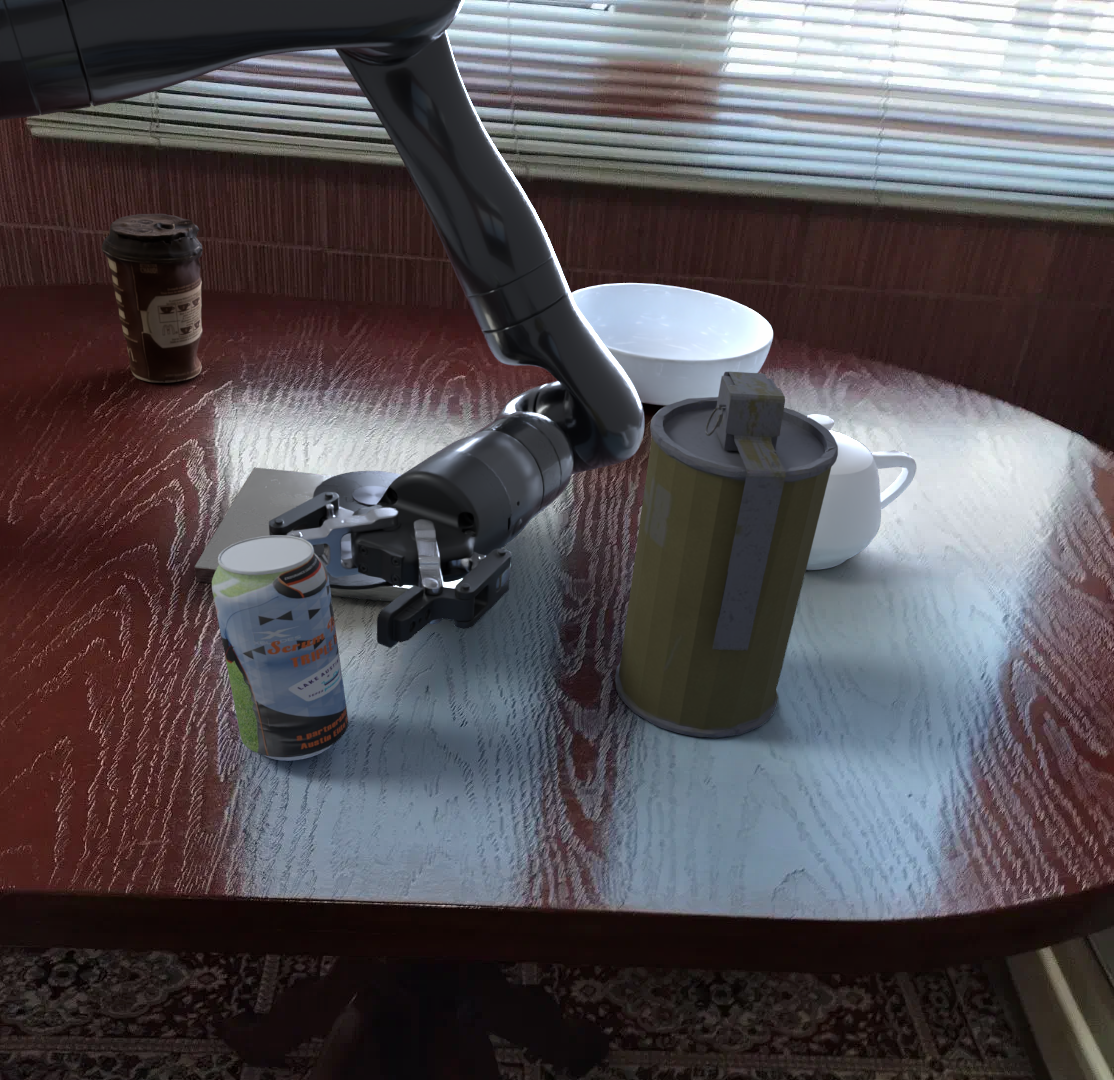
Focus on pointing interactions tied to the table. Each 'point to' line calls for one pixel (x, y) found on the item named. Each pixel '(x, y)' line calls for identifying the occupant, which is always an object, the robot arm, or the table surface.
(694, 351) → the serving bowl
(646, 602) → the canister
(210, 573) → the hob
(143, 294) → the coffee cup
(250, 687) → the beverage can
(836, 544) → the teapot
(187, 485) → the table surface
